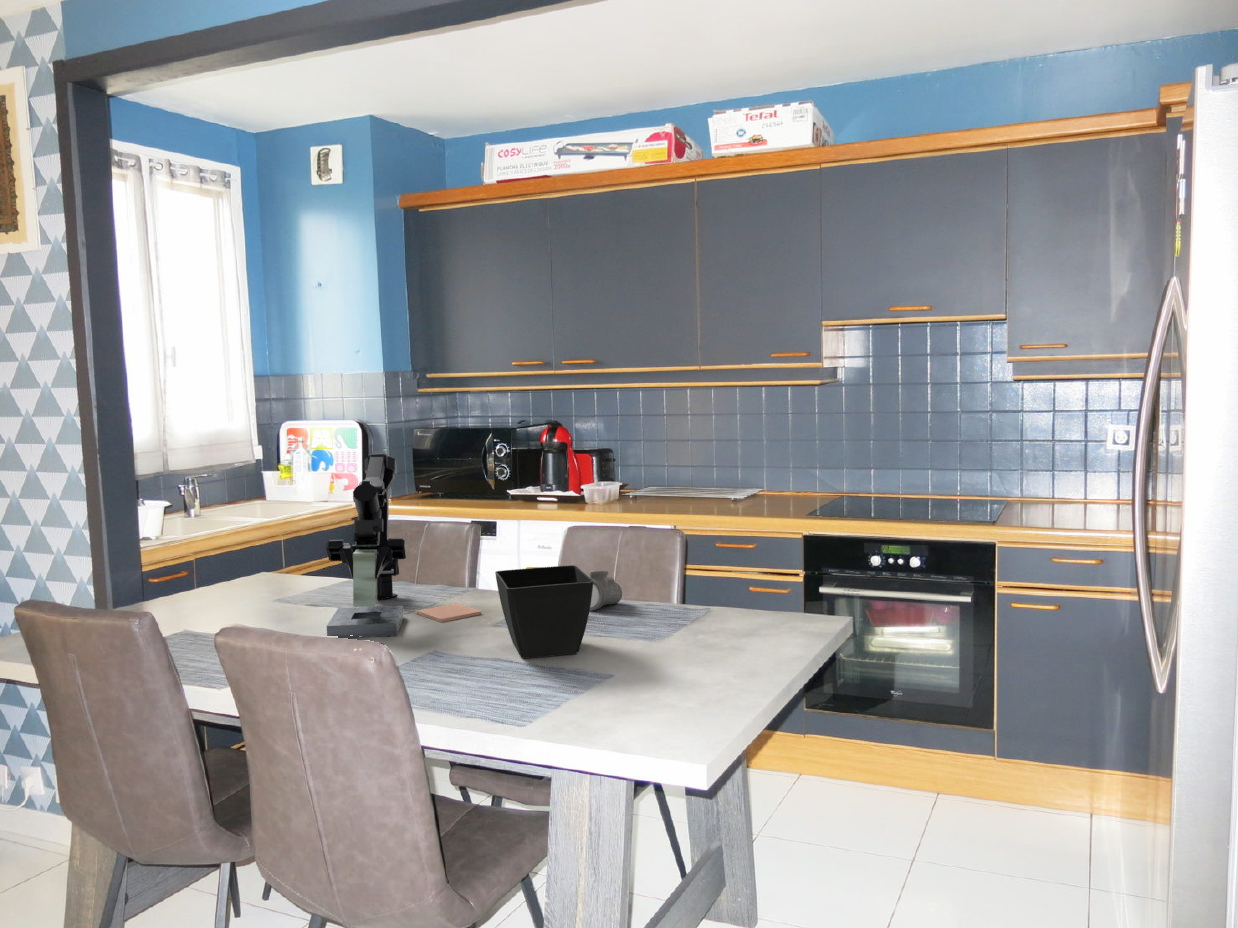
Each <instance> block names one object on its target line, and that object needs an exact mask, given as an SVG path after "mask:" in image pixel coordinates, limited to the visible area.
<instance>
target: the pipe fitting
mask: <svg viewBox="0 0 1238 928" xmlns="http://www.w3.org/2000/svg"><path fill="white" fill-rule="evenodd" d="M588 575H589V577H590V578H591V579H592V580H593V591H592V599H591V605H590V611H589V612H593V611H597V610H599V609H601V608H602V607H603V606H609V605H616V604H618V603H619V602H620V601H621V600H622V598H623V589H622V587H621V585H620V584H619V583H617V582H616V581H615V578H613V577H610V576H608V575H609V570H606V569H605V570H601V569H600V570H599V569H598V570H589V574H588Z"/></svg>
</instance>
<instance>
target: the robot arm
mask: <svg viewBox="0 0 1238 928" xmlns="http://www.w3.org/2000/svg"><path fill="white" fill-rule="evenodd" d="M397 463H398V462H397V461H396V458H394V457H391V456H389V455H388V454H386V453H384V452H380V453H376V452H375V453H373V452H372V453H369V454H368V455H367V457H366V458H365V459H364V472H365V478H364V479H363V480H361V481H360V482H359V484H358V485H357V486H356V487H355V488H354V490H353V491H352V494H353V495H352V501H353V503H354V505H355V506H354V507H355V510H356V512H357V520H354V521H353V522H354V524H353V541H354V542H355V544H352V543H350V542H345V540H344V539H329V540H328V541H327V543H326V547H325V550H326V553H327V557H328V561H330V562H341V563H342V564H346V566H347V567H348V569H349V573H350V576H351V579H352V580H353V553H354V552H355V551H356V550H377V565H376V570H375V579H377V601H378V600H385V599H391V598H395V597H399V596H398V594H396V593H394V592H393V588H394V587H393V576H394V577H395V576H398V575H400V565H399V560H405V559H406V558H407V545H406V539H404V538H403V537H396V538H395V537H393V538H389V513H390V512H389V511H390V510H389V509H390V508H389V505H390V504H389V503H390V502H389V501H390V500H389V498H390V489H391V488H392V486H393V484H394V483H395V479H396V477H395V475H398V465H397Z"/></svg>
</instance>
